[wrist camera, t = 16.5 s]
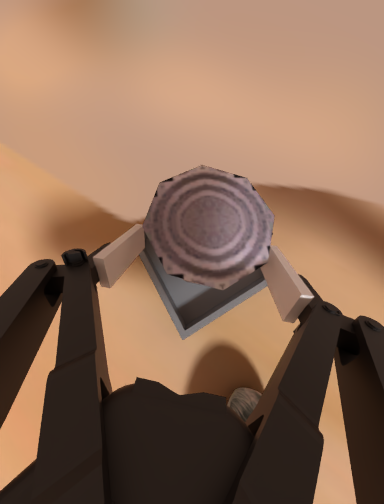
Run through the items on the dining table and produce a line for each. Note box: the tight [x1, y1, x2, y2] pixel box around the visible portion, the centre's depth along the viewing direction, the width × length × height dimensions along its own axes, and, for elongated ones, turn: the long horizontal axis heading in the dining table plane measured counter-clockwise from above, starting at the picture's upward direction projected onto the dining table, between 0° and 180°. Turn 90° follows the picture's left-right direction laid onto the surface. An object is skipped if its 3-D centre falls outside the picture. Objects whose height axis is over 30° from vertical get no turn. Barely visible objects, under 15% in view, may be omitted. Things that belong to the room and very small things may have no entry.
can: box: [142, 165, 274, 290], centre depth 18 cm, size 11×11×12 cm
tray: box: [139, 231, 268, 340], centre depth 23 cm, size 17×17×4 cm
